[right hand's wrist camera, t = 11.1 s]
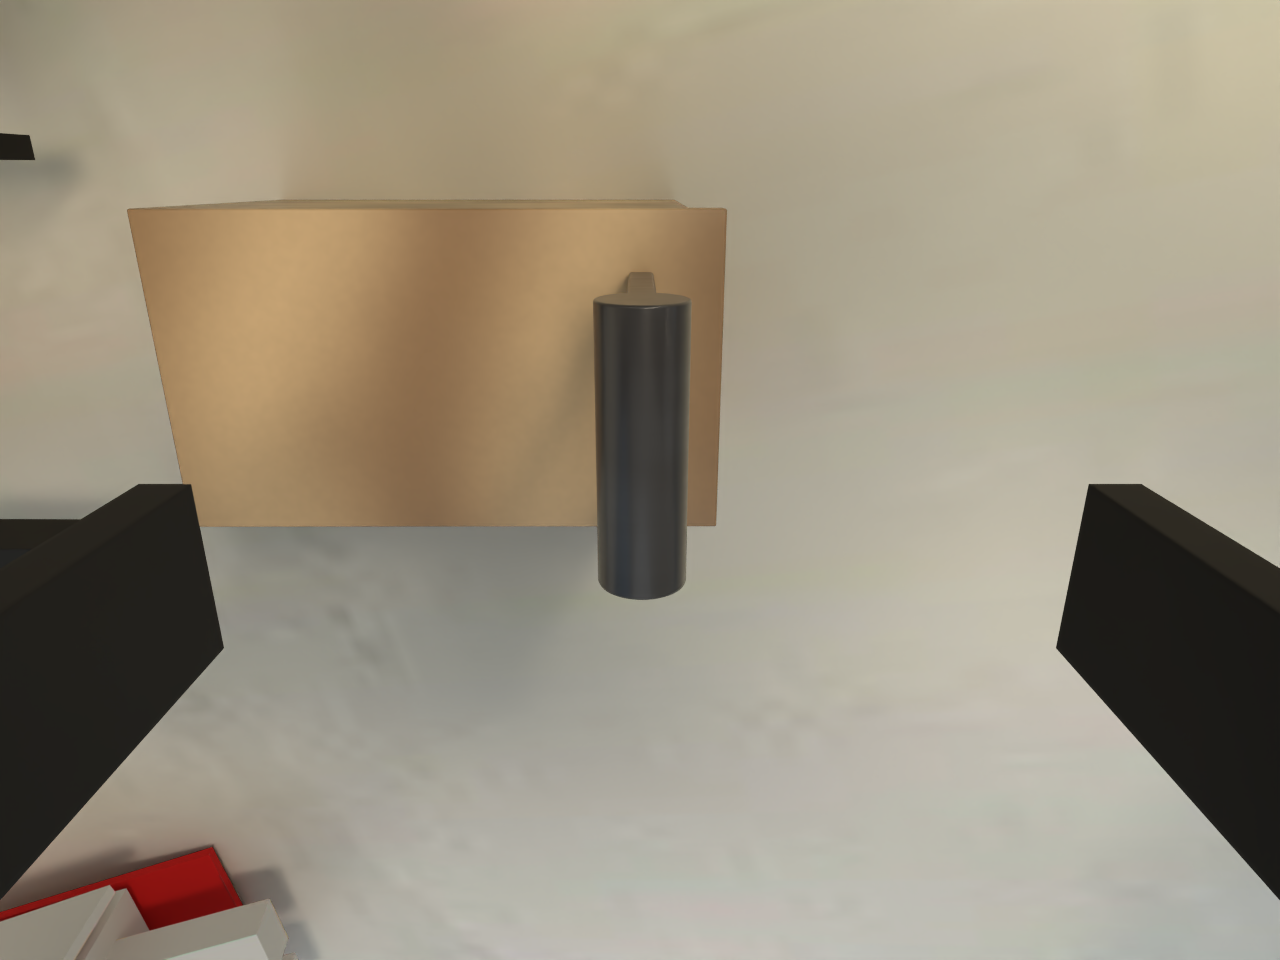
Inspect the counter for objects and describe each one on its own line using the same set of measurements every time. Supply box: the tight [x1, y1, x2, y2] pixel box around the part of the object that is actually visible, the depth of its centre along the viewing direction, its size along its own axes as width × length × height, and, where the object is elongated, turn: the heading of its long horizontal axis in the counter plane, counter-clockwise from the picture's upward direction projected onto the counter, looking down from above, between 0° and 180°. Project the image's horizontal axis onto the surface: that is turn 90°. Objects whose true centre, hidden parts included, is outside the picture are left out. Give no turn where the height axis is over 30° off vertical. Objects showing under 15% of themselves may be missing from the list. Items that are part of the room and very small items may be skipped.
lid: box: [127, 208, 727, 600], centre depth 21 cm, size 16×10×8 cm, turn 90°
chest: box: [152, 200, 687, 208], centre depth 29 cm, size 16×10×9 cm, turn 90°
